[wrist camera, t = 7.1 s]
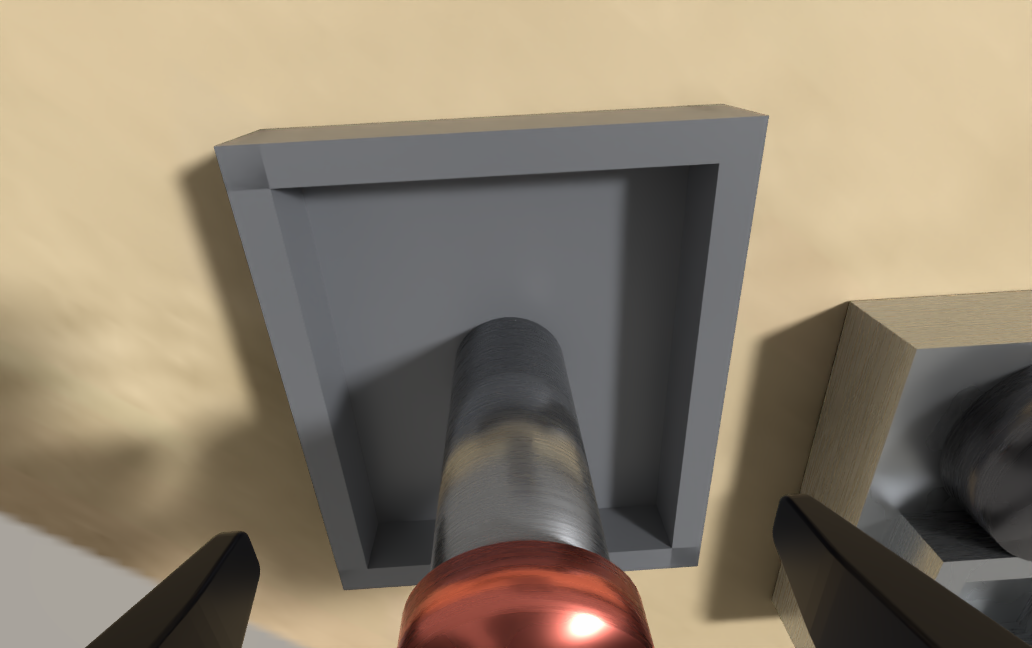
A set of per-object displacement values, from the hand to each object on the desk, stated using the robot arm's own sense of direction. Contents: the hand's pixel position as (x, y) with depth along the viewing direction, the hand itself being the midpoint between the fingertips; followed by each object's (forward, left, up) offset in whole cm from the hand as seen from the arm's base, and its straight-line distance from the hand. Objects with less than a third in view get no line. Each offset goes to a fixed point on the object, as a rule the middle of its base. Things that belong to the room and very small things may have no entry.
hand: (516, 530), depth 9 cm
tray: (0, 0, -6) cm, 6 cm away
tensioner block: (-5, -13, -6) cm, 15 cm away
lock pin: (0, 0, -5) cm, 5 cm away
